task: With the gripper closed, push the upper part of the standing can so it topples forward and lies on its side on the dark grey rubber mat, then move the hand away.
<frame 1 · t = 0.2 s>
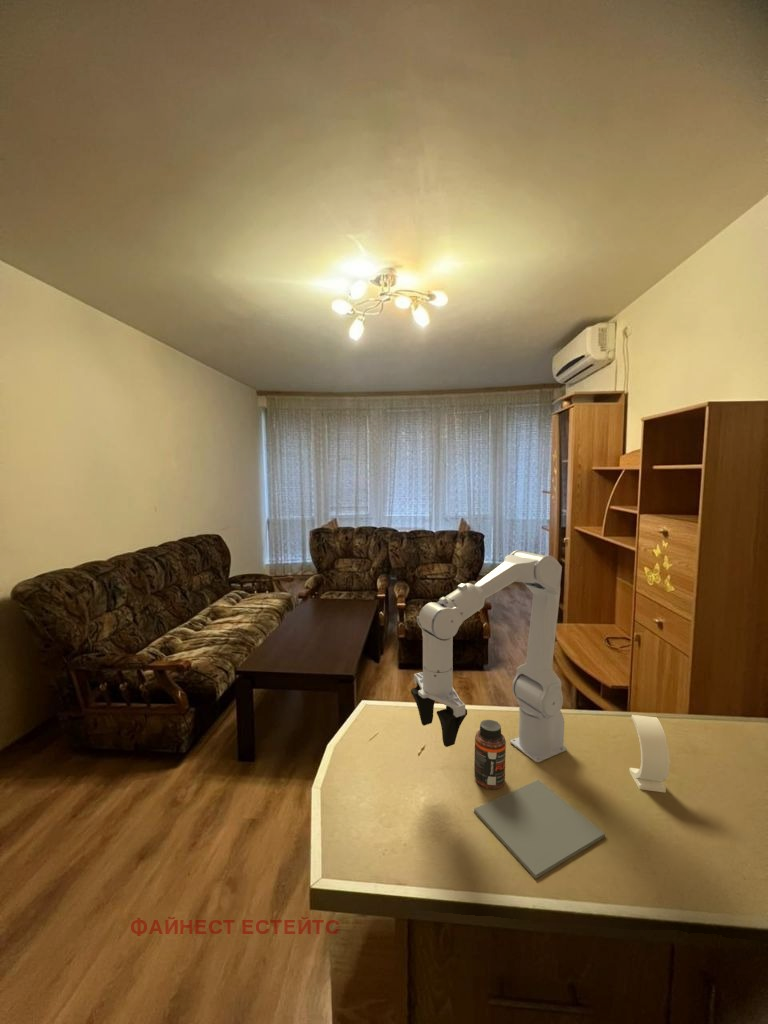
hand: (437, 733, 79), 10 cm above the kitchen counter, tool pointing down, fingers open, 7 cm apart
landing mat: (537, 824, 70), on the kitchen counter
headphone stand: (648, 784, 80), on the kitchen counter
supplement bottle: (489, 780, 81), on the kitchen counter
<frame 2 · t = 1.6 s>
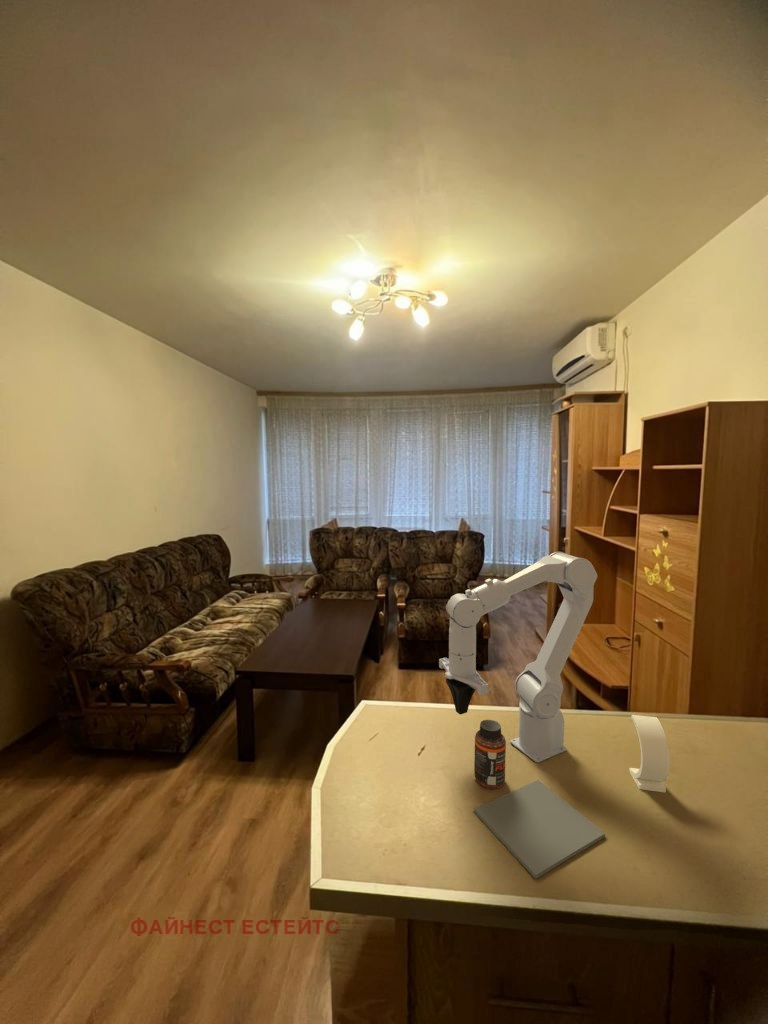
hand: (461, 712, 88), 9 cm above the kitchen counter, tool pointing down, fingers closed
nothing on the kitchen counter moved.
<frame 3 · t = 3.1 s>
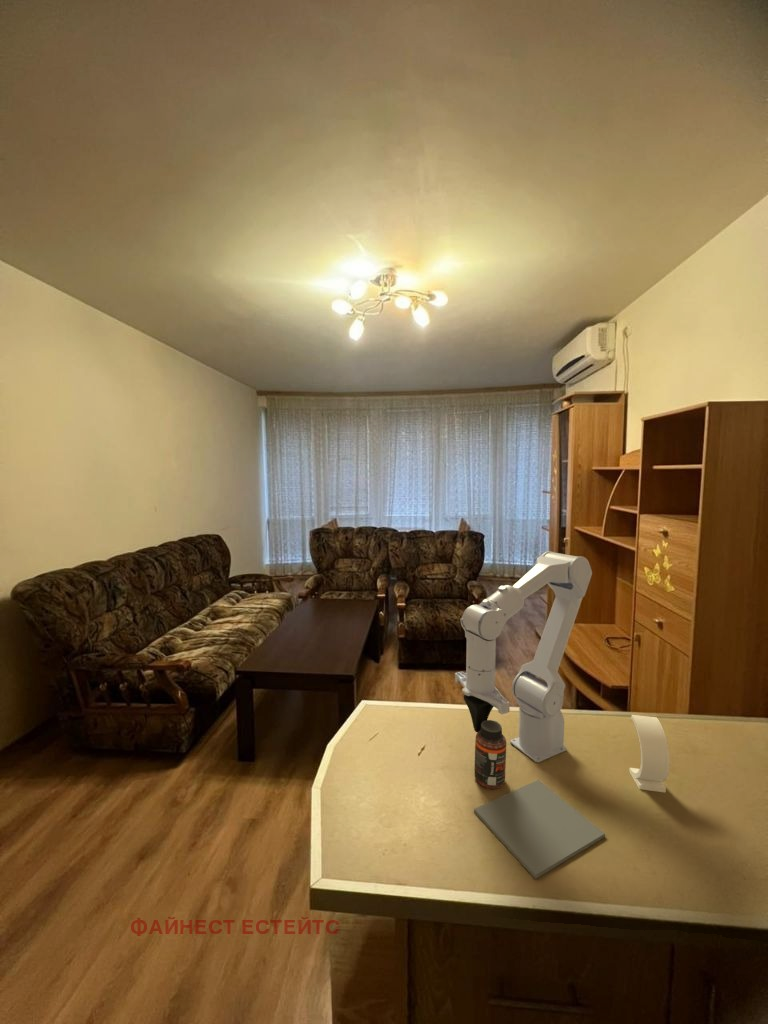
hand: (479, 730, 83), 8 cm above the kitchen counter, tool pointing down, fingers closed
supplement bottle: (489, 780, 81), on the kitchen counter, touching gripper
everything else where it was.
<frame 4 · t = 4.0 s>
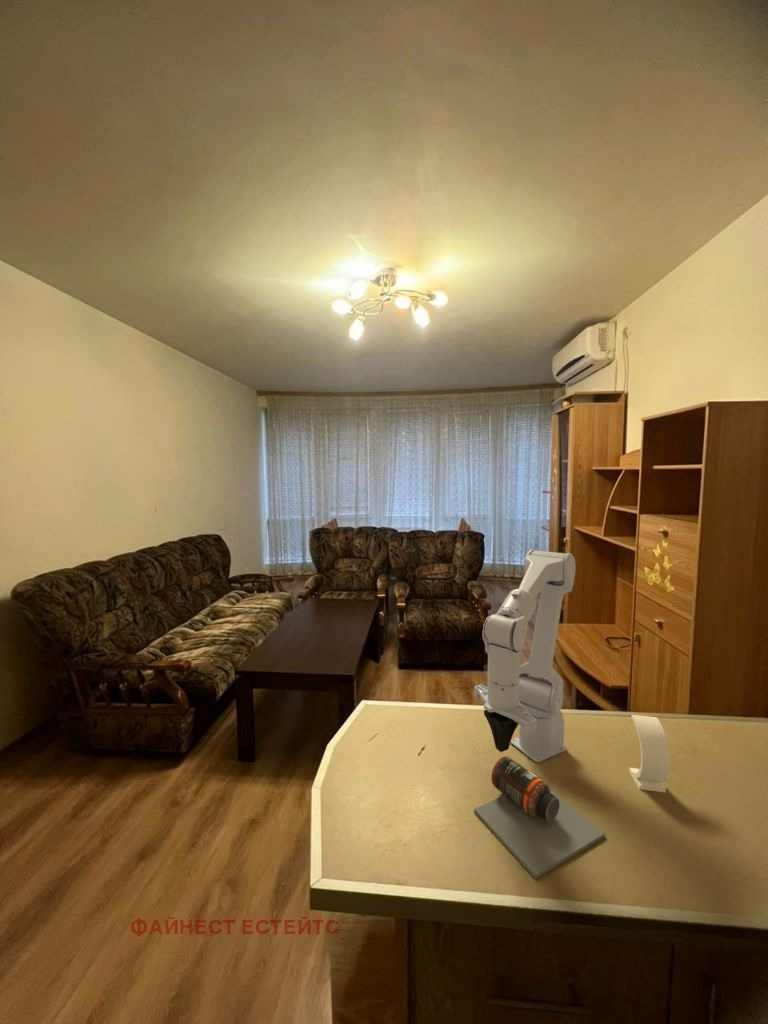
hand: (502, 748, 77), 8 cm above the kitchen counter, tool pointing down, fingers closed
supplement bottle: (499, 769, 78), point 4 cm above the kitchen counter, touching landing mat
everything else where it was.
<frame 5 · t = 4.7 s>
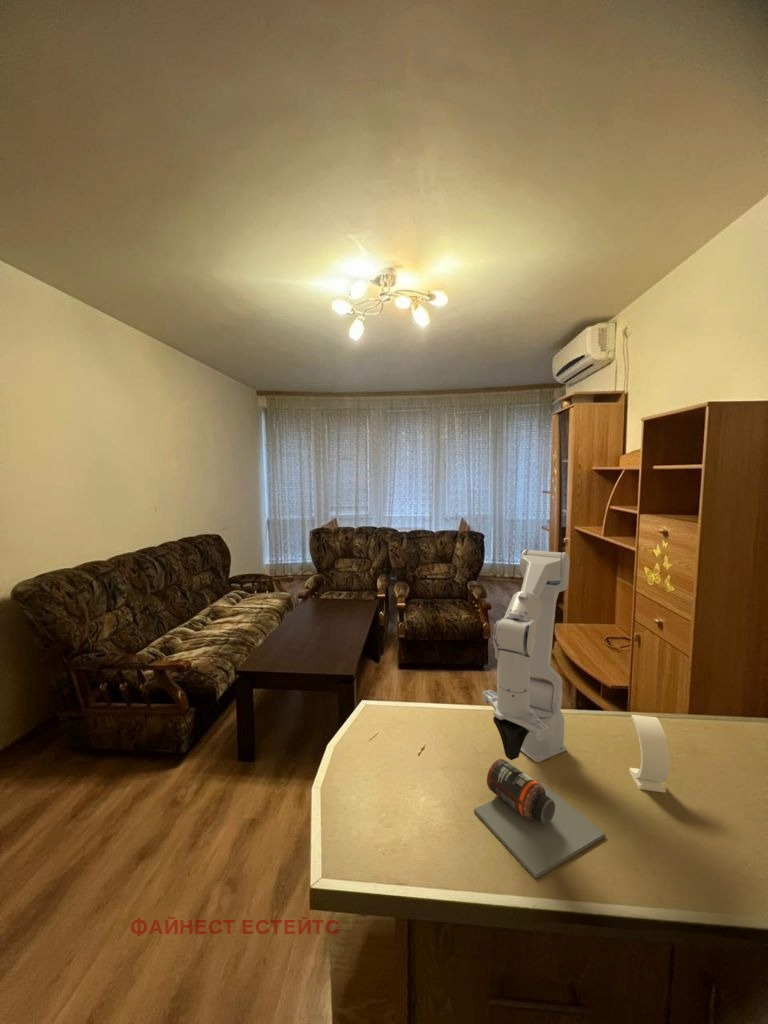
hand: (512, 756, 75), 8 cm above the kitchen counter, tool pointing down, fingers closed
supplement bottle: (495, 772, 78), point 4 cm above the kitchen counter, touching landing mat
everything else where it was.
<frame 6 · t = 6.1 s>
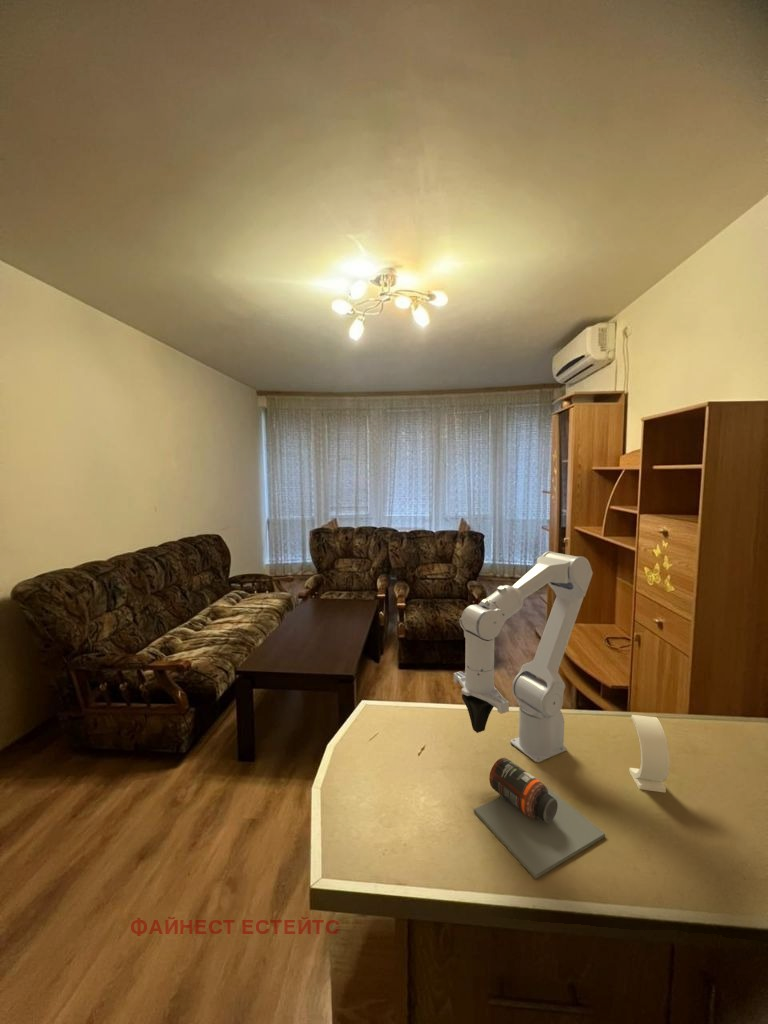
hand: (478, 729, 83), 8 cm above the kitchen counter, tool pointing down, fingers closed
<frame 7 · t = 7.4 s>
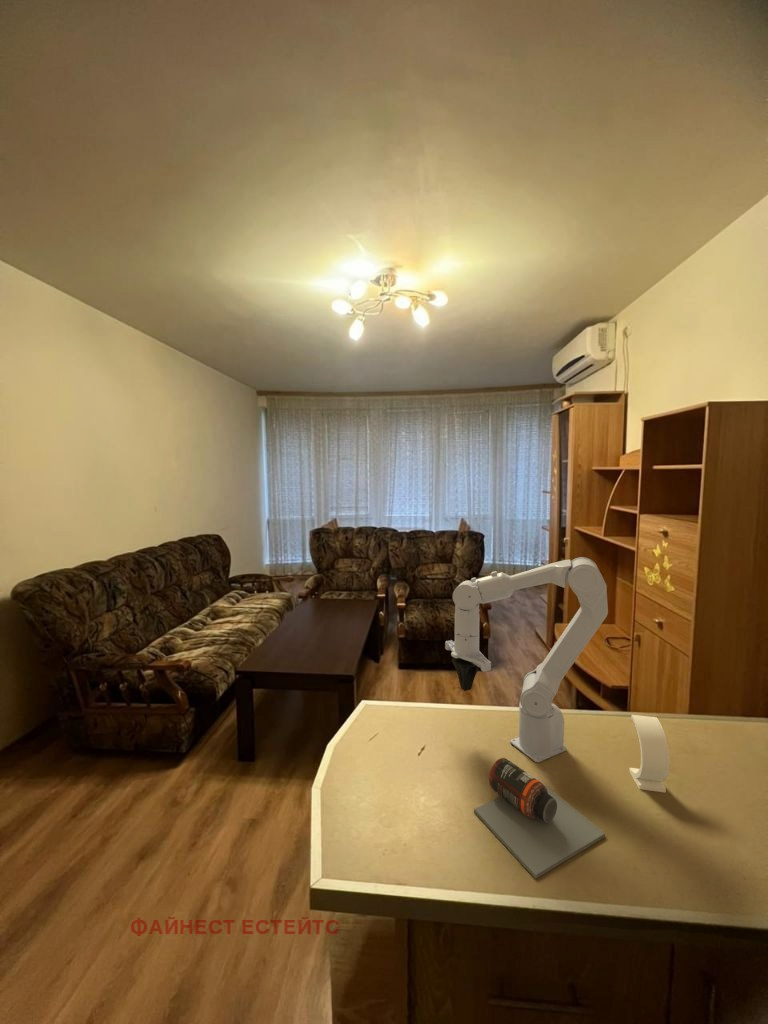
hand: (466, 688, 96), 10 cm above the kitchen counter, tool pointing down, fingers closed
nothing on the kitchen counter moved.
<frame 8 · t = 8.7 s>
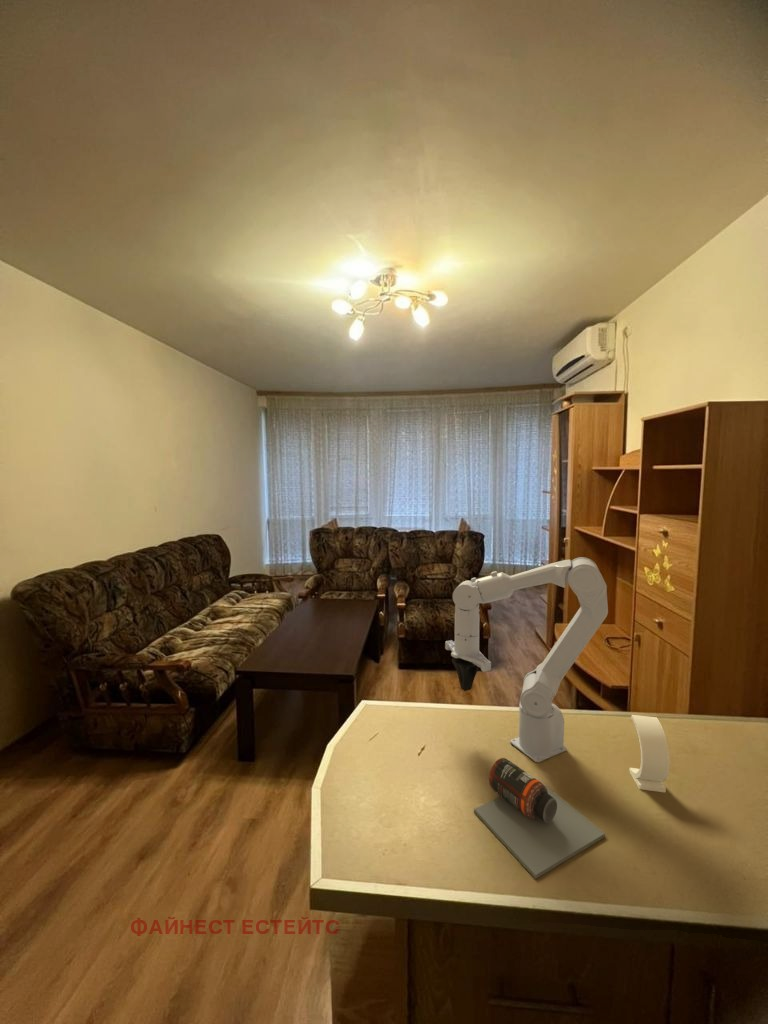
hand: (466, 688, 96), 10 cm above the kitchen counter, tool pointing down, fingers closed
nothing on the kitchen counter moved.
at the end: supplement bottle tilted 90°; supplement bottle touching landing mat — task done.
